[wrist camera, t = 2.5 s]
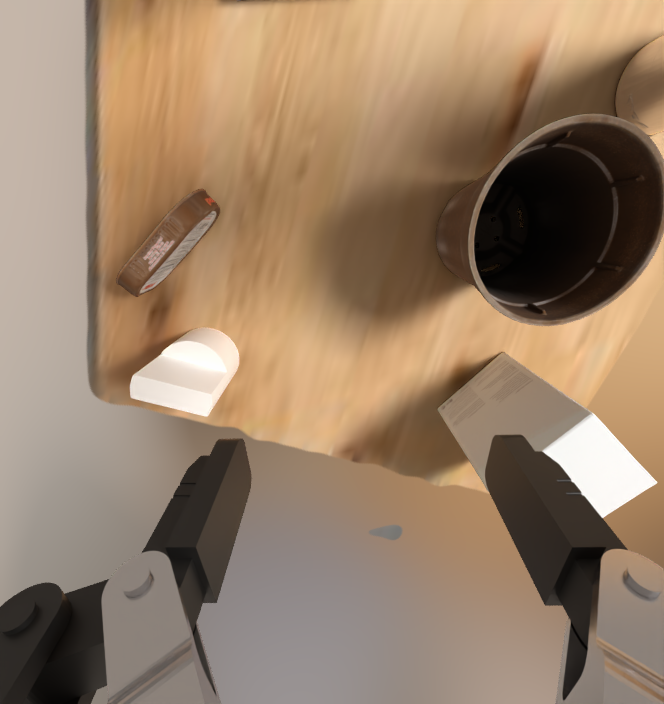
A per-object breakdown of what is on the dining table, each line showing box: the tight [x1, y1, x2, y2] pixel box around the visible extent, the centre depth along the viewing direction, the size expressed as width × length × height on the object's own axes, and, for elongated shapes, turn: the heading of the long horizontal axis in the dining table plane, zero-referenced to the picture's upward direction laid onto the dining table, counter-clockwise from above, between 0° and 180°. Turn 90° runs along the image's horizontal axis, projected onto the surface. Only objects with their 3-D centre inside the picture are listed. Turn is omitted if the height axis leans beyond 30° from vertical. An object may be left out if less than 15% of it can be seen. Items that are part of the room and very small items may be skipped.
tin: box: [116, 189, 220, 297], centre depth 38 cm, size 15×3×8 cm, turn 133°
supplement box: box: [437, 352, 657, 518], centre depth 43 cm, size 13×13×18 cm
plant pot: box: [436, 114, 664, 326], centre depth 34 cm, size 16×16×16 cm
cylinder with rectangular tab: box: [130, 327, 239, 417], centre depth 42 cm, size 9×9×12 cm
